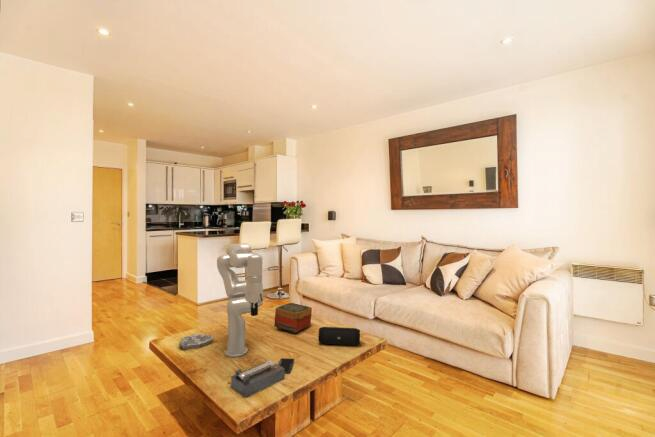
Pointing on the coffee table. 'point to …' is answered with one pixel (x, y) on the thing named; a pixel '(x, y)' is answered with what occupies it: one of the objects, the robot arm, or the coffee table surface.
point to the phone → (286, 364)
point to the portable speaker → (339, 335)
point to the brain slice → (195, 341)
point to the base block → (256, 380)
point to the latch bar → (257, 369)
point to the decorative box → (293, 317)
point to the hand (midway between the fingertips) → (254, 315)
